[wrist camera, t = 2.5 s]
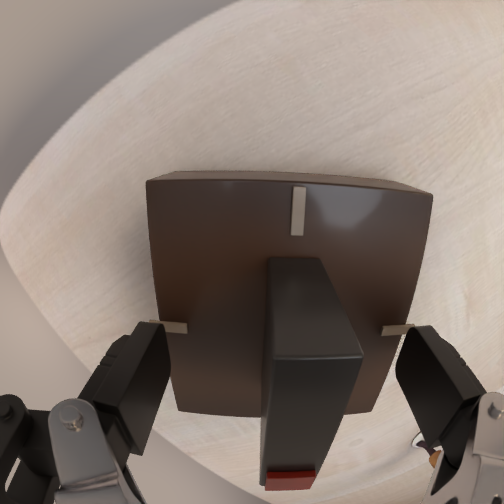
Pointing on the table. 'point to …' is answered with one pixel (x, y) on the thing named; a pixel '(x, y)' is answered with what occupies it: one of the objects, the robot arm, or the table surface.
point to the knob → (303, 372)
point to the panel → (256, 267)
